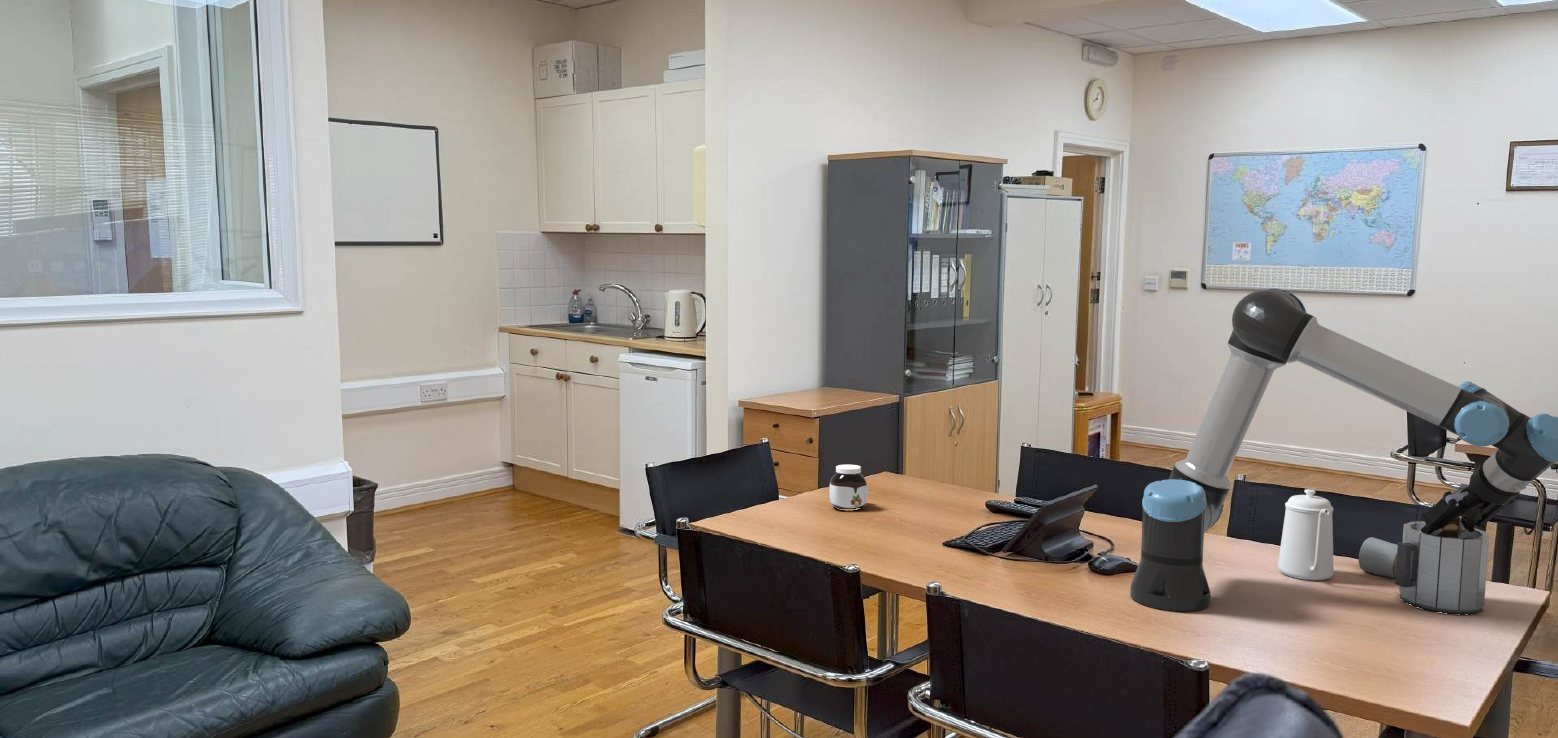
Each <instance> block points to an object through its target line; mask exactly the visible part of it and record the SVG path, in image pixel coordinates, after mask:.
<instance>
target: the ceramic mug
mask: <svg viewBox="0 0 1558 738" xmlns="http://www.w3.org/2000/svg"><path fill="white" fill-rule="evenodd" d="M1361 544H1362V545H1361V547H1360V550H1359V553H1358V567H1359V568H1360V569H1361V571H1363V572H1365V573H1370V574H1374V575H1377V576H1382V577H1387V578H1390V579H1394V580H1395V578H1396V563H1397V548H1398V544H1396V543H1392V542H1388V541H1385V540H1383V539H1379V538H1376V537H1374V536H1373V537H1372V536H1371V537H1368V538H1366V539H1365V540H1364V541H1363V542H1362V543H1361Z"/></svg>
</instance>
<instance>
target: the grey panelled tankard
mask: <svg viewBox="0 0 1558 738" xmlns="http://www.w3.org/2000/svg"><path fill="white" fill-rule="evenodd" d="M1425 525H1426V523H1425V521H1424V520H1423V521H1421V520H1420V521H1410V522H1407V523H1404V524H1403V529H1402V530H1403V531H1402V542H1397V545H1398V548H1397V563H1396V578H1395V579H1394V580H1395V581H1394V583H1395V585H1397V586H1398V587H1399V590H1398V592H1399V600H1400V599H1402V600H1403V601H1404V602H1405V603H1404V602H1403V603H1404V604H1406V603H1408V604H1411V605H1412V606H1414V607H1413V608H1415V607H1419V608H1422V609H1424V610H1423V611H1426V610H1427V611H1426V612H1430V611H1431V613H1435V612H1442V613H1447V614H1446V615H1449V614H1460V615H1459V616H1466V615H1465V614H1468V615H1467V616H1472V615H1471V614H1475V615H1477V614H1476V613H1479V612H1481V613H1482V612H1483V609H1484V607H1485V598H1486V588H1487V587H1486V584H1487V573H1488V571H1487V570H1488V562H1489V561H1488V558H1489V545H1490V535H1489V533H1488V532H1486V531H1485V530H1480V529H1478V528H1475V527H1474V529H1475V531H1474V532H1469V531H1468V530H1466V531H1465V532H1463V533H1462V534H1461V535H1460V536H1459V537H1458V538H1453V537H1442V536H1437V535H1432V534H1426V533H1422V532H1420V530H1421V529H1422V528H1423V527H1424V526H1425ZM1408 604H1407V605H1408ZM1412 606H1411V607H1412ZM1422 609H1421V610H1422ZM1479 614H1480V613H1479Z"/></svg>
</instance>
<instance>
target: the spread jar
mask: <svg viewBox="0 0 1558 738" xmlns="http://www.w3.org/2000/svg"><path fill="white" fill-rule="evenodd" d="M828 491H829V493H828V494H829V495H828V496H829V502H830V504H831V506H832V507H833V508H834V507H835V508H839V509H856V508H861V509H863V508H864V507H865V506H866V504H867V502H868V501H867V500H868V495H869V489H868V483H867V480H866V478H865V476H864V475H863V474H862V466H860V465H859V464H858V465H857V464H839V465H836V466H835V473H834V474H833V476H831V478H830V481H829V490H828ZM835 508H834V509H835Z"/></svg>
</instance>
